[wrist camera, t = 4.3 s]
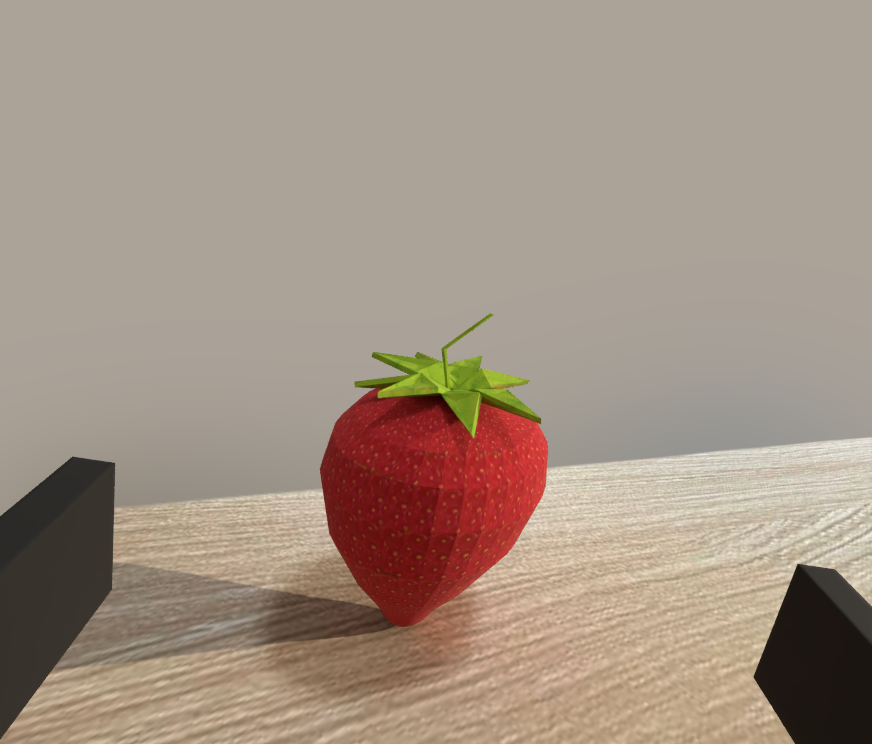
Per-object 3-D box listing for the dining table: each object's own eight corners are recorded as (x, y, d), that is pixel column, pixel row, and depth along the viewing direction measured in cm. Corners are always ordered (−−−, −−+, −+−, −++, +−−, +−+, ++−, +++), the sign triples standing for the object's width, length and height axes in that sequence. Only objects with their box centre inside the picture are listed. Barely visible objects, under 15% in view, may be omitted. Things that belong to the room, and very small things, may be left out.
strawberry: (542, 605, 22) (617, 318, 19) (427, 757, 16) (513, 361, 13) (397, 534, 25) (443, 272, 22) (247, 639, 18) (284, 288, 15)
